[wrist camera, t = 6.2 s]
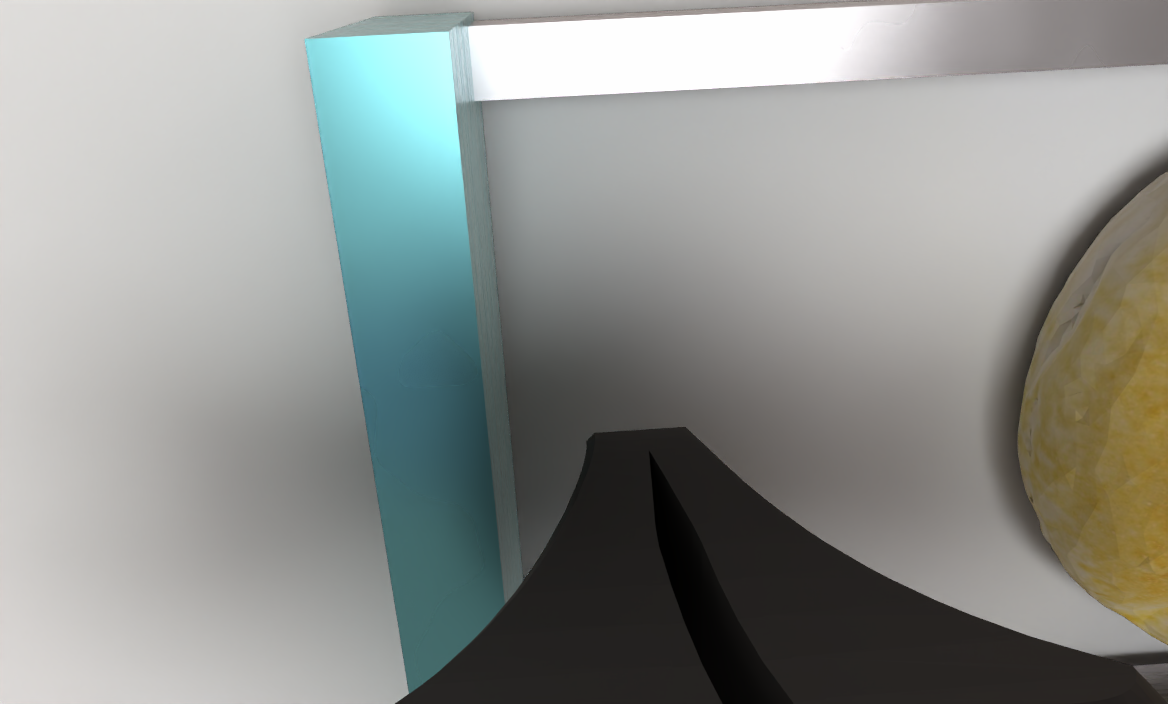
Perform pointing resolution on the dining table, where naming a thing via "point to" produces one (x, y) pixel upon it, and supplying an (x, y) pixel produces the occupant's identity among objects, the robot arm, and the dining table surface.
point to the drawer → (465, 238)
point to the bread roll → (1107, 416)
